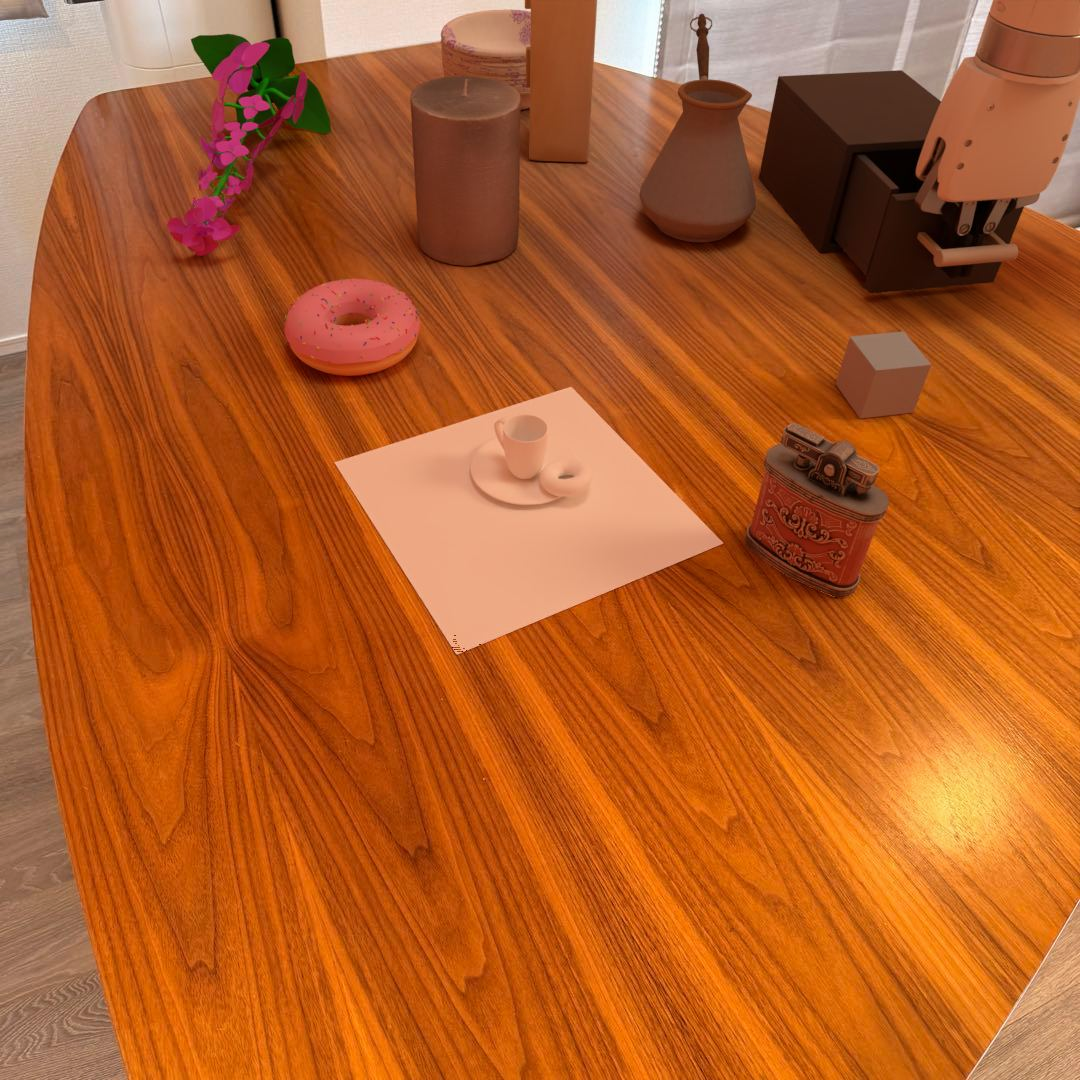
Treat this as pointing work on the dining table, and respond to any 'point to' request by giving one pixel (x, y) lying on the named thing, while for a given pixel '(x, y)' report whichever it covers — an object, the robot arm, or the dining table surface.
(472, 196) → the pillar candle
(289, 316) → the doughnut
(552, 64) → the toy refrigerator
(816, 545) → the lighter
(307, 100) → the pink flower sprig
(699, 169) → the coffee pot
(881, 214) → the drawer
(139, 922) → the dining table surface
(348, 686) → the dining table surface
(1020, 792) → the dining table surface
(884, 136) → the dark brown boxy casing
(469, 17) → the paper bowls
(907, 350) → the block
